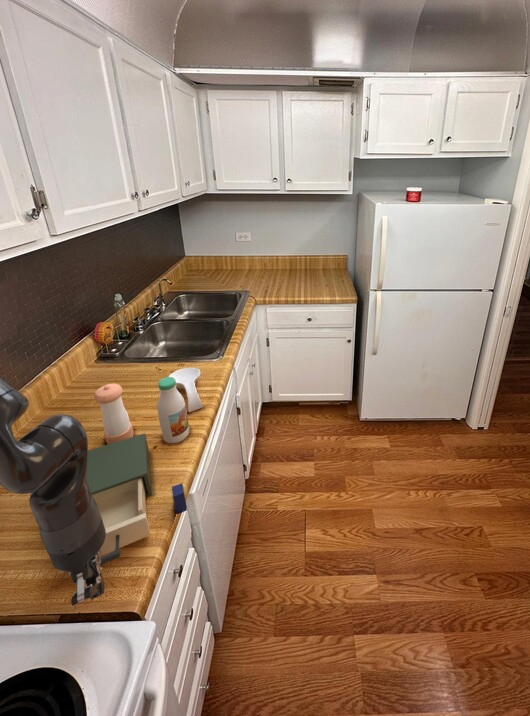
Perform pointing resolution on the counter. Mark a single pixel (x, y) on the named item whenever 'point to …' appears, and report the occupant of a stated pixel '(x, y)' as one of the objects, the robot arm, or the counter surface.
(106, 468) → the cabinet
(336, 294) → the counter surface
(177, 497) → the blue block with post
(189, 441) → the counter surface
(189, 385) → the white curved piece
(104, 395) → the salt shaker
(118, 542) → the drawer
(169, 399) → the milk bottle
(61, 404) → the counter surface
